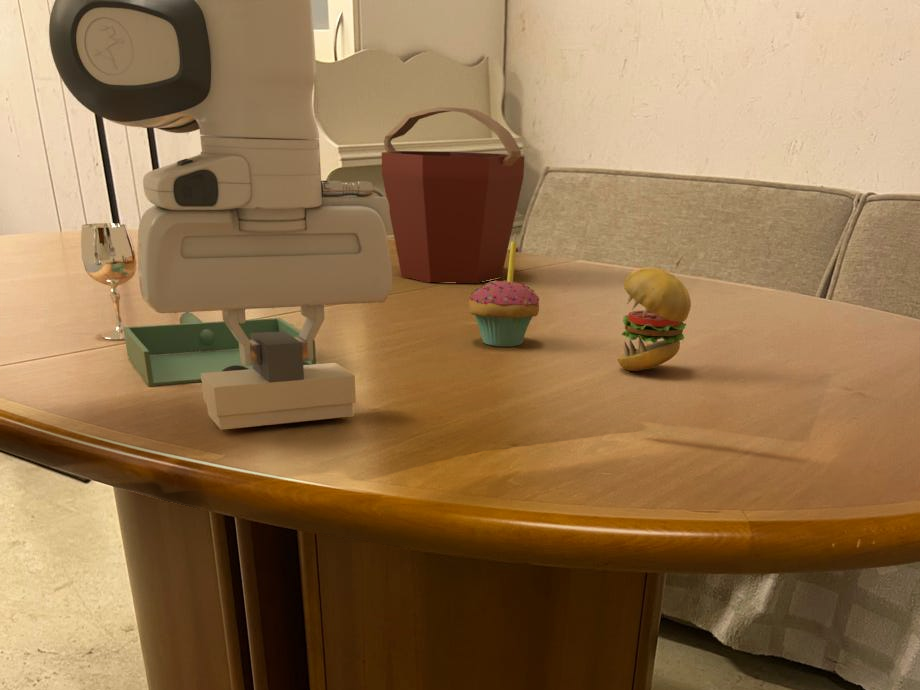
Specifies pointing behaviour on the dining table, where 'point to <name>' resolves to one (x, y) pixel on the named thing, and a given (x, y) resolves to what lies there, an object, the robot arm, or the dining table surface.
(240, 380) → the brush
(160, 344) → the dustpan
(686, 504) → the dining table surface
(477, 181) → the bucket
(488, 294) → the cupcake
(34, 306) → the dining table surface
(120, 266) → the wineglass
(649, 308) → the hamburger
